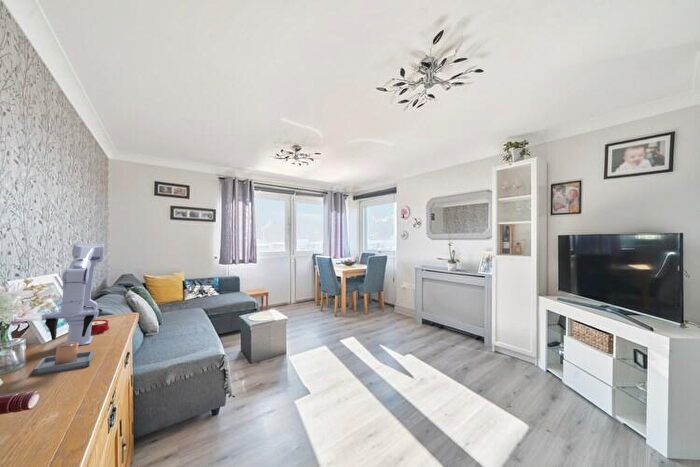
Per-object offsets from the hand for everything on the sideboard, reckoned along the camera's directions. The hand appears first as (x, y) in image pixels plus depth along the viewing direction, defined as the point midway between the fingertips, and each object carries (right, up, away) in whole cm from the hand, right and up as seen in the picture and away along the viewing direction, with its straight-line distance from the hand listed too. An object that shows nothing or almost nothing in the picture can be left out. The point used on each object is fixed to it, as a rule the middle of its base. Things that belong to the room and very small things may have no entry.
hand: (69, 337), depth 98 cm
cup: (-1, -9, 0) cm, 9 cm away
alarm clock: (-23, -10, +33) cm, 41 cm away
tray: (-1, -10, 0) cm, 10 cm away
